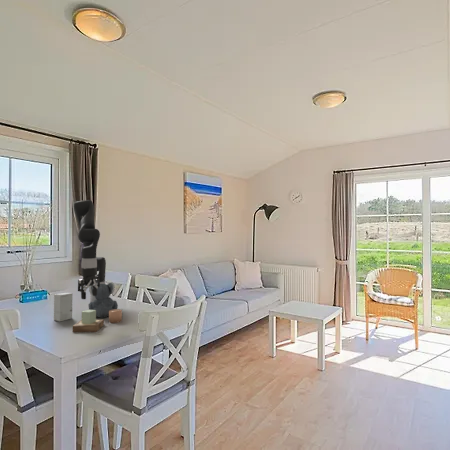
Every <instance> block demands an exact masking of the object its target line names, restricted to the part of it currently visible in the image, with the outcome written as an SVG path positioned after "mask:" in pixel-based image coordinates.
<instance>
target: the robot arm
mask: <svg viewBox="0 0 450 450" xmlns="http://www.w3.org/2000/svg"><path fill="white" fill-rule="evenodd" d="M73 211H74V214H75V218H76V220H77V223H78V227H79V231H78V234H77V235H78V236H77V237H78V240H79V242H81V243H82V244H83V248H82V250H81V276H82V279H78V280H77V292H80V298H81V300H87V292H86V291H87V289H89V286H92V288H93V295H92V294H90V293H89V303H90V302H93V301H94V300H97V299H96V298H95V296H97V288H98V287H100V284H106V270H107V269H106V266H107V265H106V264H107V262H106V260H107V259H106V258H105V257H104V256H103V257H102V256H97V248H98V243H99V241H100V237H101V232H100V230H99V229H97V228H96V226H95V221H94V220H95V205H94V203H93V201H92V200H91V199H85V200H79V201H74V203H73Z"/></svg>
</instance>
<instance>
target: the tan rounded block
mask: <svg viewBox="0 0 450 450" xmlns="http://www.w3.org/2000/svg"><path fill="white" fill-rule="evenodd" d="M122 321H123V309H119V308H117V309H113V310H110V311H109V316H108V323H110V324H115V323H116V324H118V323H121V322H122Z"/></svg>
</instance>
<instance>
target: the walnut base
mask: <svg viewBox="0 0 450 450" xmlns="http://www.w3.org/2000/svg"><path fill="white" fill-rule="evenodd" d="M104 325H105V319H102V318H101V319H96V322H93V323H91V324H85V323H82V319H80V320H79V321H78V322H76V323H75V324H73V325H72V333H93V332H95V333H97V332H98V331H99V330H100V329H101V328H103V326H104Z"/></svg>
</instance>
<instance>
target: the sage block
mask: <svg viewBox="0 0 450 450" xmlns="http://www.w3.org/2000/svg"><path fill="white" fill-rule="evenodd" d="M81 320H82V323H85V324H91V323H93V322H96V320H97V316H96V310H89V308H88V309H86V310H82V311H81Z"/></svg>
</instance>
